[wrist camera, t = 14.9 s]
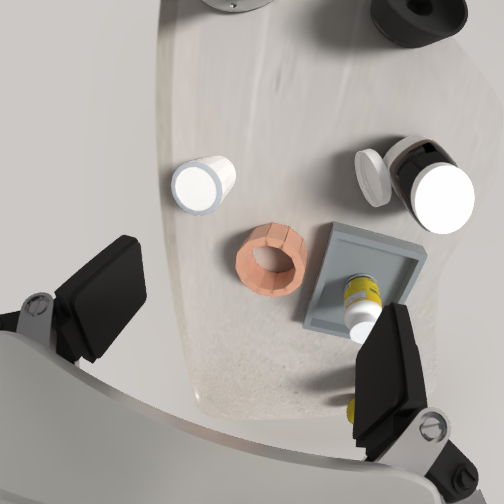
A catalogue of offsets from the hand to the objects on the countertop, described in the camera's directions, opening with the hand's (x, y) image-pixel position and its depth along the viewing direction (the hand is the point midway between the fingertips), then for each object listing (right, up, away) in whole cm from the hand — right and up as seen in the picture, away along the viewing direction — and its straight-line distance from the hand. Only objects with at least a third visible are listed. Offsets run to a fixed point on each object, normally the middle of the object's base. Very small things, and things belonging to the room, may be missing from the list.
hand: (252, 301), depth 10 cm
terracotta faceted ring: (+3, +2, +32) cm, 32 cm away
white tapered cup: (-5, +13, +28) cm, 31 cm away
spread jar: (+19, +12, +21) cm, 31 cm away
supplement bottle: (+16, -3, +30) cm, 35 cm away
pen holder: (+19, +30, +11) cm, 37 cm away
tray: (+17, -3, +31) cm, 35 cm away
